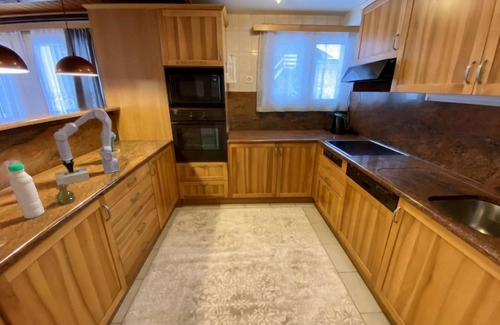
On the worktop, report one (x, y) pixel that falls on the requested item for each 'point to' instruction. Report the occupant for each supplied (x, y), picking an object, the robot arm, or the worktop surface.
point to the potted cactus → (114, 151)
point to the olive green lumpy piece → (64, 195)
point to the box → (72, 176)
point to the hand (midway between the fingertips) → (71, 170)
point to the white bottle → (25, 192)
